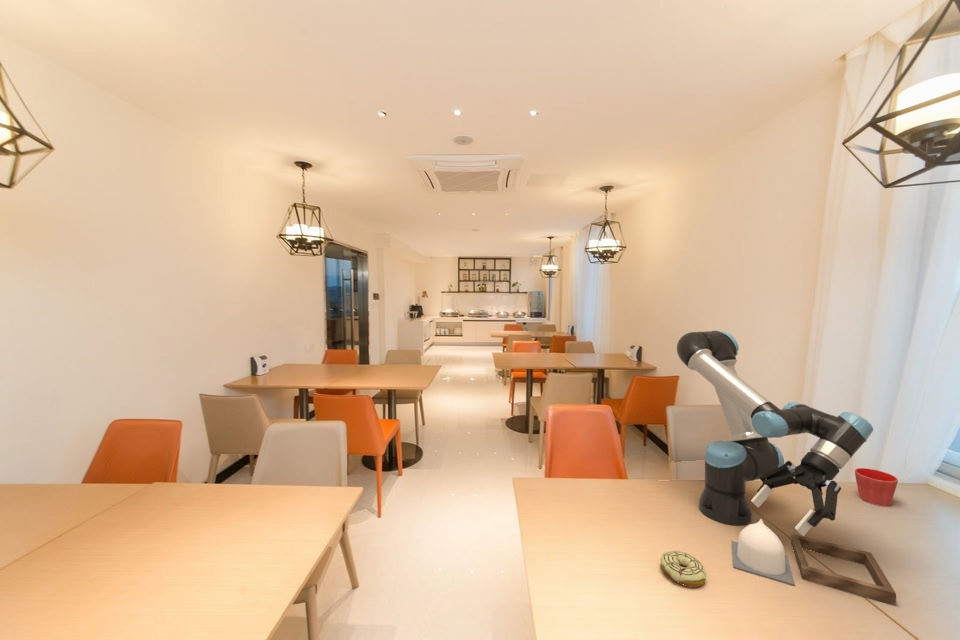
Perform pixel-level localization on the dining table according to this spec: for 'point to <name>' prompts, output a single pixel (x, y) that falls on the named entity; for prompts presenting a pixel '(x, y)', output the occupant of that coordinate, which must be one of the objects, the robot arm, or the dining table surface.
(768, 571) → the teardrop
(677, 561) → the decorated donut
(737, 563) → the grey mat
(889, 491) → the flower pot
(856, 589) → the walnut collar
